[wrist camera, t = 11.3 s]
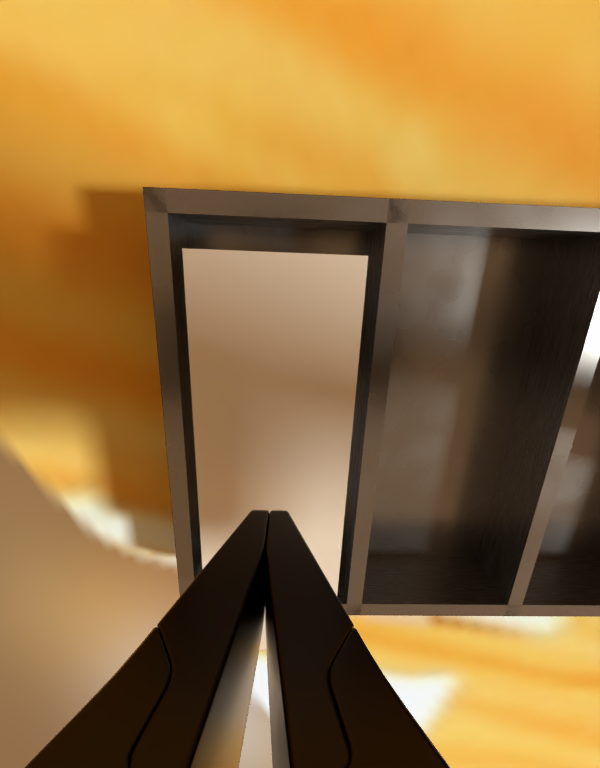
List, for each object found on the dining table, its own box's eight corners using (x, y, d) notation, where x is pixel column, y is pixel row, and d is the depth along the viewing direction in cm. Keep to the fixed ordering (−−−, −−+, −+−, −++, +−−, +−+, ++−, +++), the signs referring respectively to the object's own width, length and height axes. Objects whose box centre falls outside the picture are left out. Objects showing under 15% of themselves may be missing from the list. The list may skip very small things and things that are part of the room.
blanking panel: (338, 260, 12) (368, 255, 8) (320, 537, 16) (332, 649, 11) (224, 256, 12) (182, 248, 7) (232, 536, 16) (207, 649, 11)
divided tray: (740, 231, 13) (868, 221, 10) (608, 564, 18) (669, 621, 15) (177, 205, 12) (142, 186, 9) (200, 560, 17) (182, 619, 14)
